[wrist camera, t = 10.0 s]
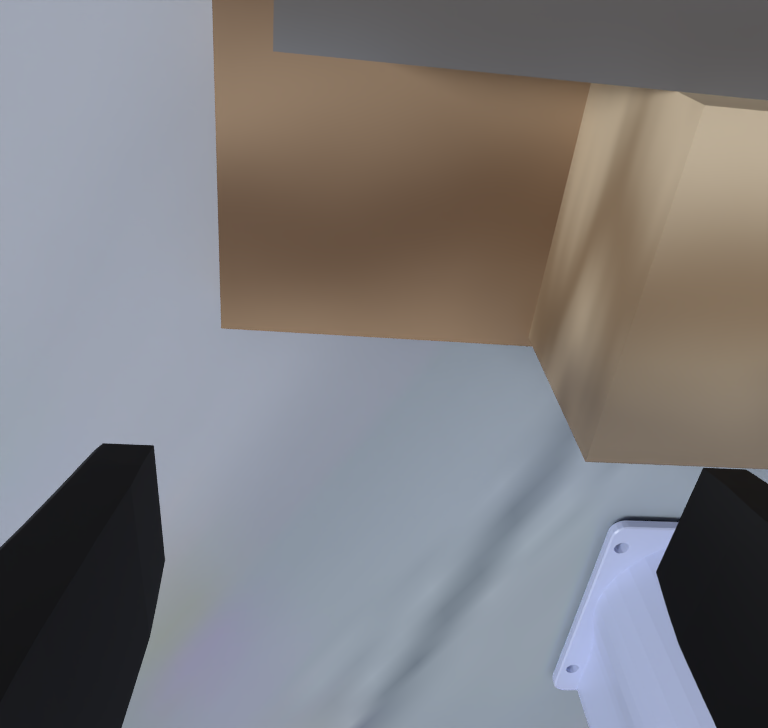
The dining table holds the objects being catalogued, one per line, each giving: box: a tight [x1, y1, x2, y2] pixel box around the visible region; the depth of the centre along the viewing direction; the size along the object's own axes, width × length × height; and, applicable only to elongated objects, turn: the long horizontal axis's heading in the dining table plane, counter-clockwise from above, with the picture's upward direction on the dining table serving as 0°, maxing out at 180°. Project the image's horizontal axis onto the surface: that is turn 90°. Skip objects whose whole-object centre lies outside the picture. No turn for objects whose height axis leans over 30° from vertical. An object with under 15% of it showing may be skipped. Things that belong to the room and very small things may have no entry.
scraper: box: [273, 0, 768, 469], centre depth 14 cm, size 9×17×5 cm, turn 84°
